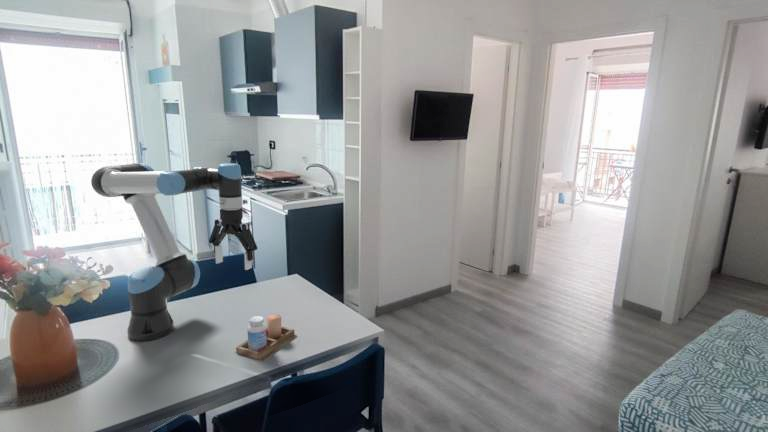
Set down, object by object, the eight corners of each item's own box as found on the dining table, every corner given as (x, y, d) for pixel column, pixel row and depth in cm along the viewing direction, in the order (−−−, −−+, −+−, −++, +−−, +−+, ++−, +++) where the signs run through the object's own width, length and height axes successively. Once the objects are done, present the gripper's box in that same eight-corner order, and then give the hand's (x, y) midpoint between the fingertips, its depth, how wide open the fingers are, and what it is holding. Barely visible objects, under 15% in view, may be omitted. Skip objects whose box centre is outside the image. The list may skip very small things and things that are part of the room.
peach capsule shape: (264, 339, 155) (263, 318, 153) (273, 333, 159) (272, 313, 158) (276, 342, 153) (275, 321, 151) (284, 336, 157) (284, 315, 156)
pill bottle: (261, 354, 145) (260, 323, 142) (245, 352, 146) (243, 321, 143) (270, 345, 150) (268, 316, 148) (253, 343, 152) (252, 314, 149)
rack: (234, 354, 146) (233, 346, 145) (270, 330, 163) (269, 323, 162) (262, 363, 141) (262, 355, 141) (296, 337, 158) (296, 330, 158)
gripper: (196, 205, 153) (199, 262, 158) (251, 214, 143) (253, 274, 148) (212, 202, 160) (215, 257, 164) (266, 210, 150) (268, 268, 154)
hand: (233, 265), depth 156 cm, fingers open, 13 cm apart
